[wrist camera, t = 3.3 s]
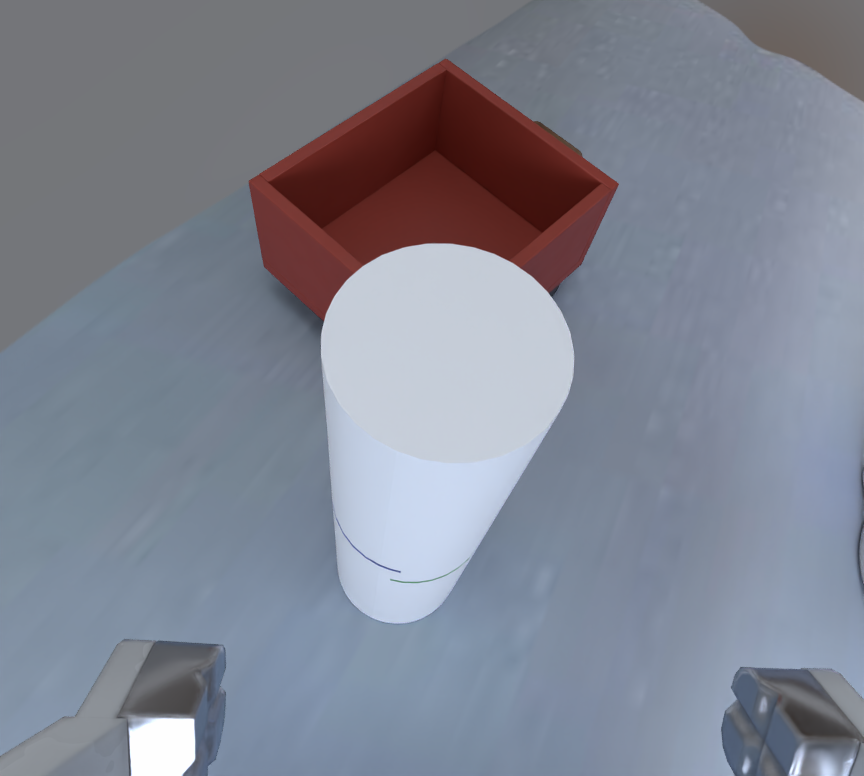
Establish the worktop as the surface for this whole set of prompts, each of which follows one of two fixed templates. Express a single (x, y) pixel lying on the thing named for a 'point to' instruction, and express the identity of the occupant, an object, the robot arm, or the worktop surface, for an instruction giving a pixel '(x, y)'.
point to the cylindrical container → (432, 414)
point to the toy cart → (428, 189)
